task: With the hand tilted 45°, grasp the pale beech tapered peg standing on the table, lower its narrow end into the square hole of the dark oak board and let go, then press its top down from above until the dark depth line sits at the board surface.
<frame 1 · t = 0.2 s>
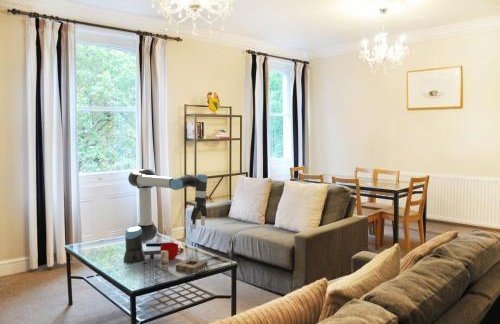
hand: (198, 227, 293), 27 cm above the table, tool pointing down, fingers open, 13 cm apart
ceramic cup: (172, 259, 308), on the table
peg: (164, 269, 287), on the table
board: (191, 268, 288), on the table
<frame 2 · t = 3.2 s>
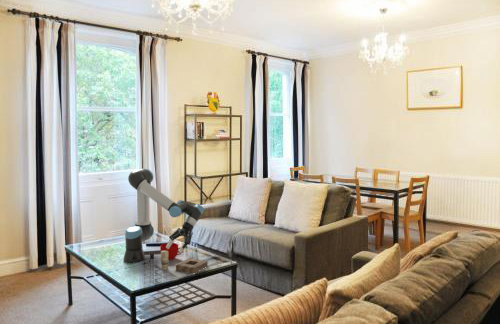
hand: (173, 250, 290), 12 cm above the table, tool tilted 45°, fingers open, 13 cm apart
nothing on the table moved.
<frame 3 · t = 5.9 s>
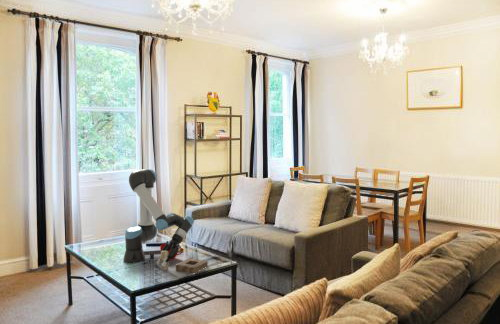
hand: (160, 265, 284), 4 cm above the table, tool tilted 45°, fingers closed on peg, 5 cm apart
peg: (164, 269, 287), on the table, touching gripper
everything else where it was.
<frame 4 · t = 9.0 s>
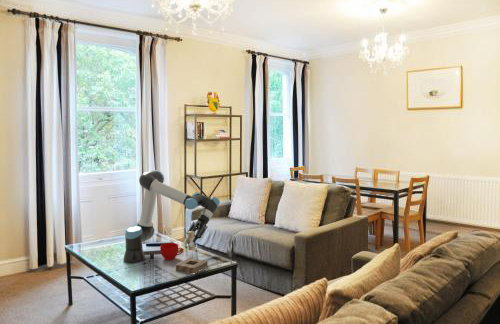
hand: (187, 245, 284), 17 cm above the table, tool tilted 45°, fingers closed on peg, 5 cm apart
peg: (191, 249, 287), point 13 cm above the table, touching gripper
everything else where it was.
when the fingers open (6 cm above the table, at t = 11.9 s): peg drops 2 cm, resting in board.
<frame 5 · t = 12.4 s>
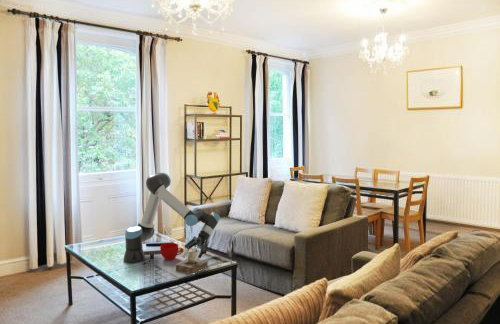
hand: (189, 259, 286), 7 cm above the table, tool tilted 45°, fingers open, 13 cm apart
peg: (192, 268, 288), resting in board
everything else where it was.
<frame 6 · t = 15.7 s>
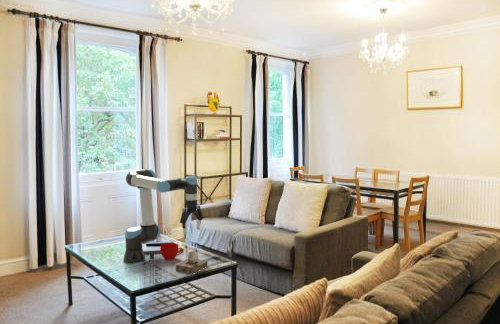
hand: (191, 231, 286), 26 cm above the table, tool pointing down, fingers open, 11 cm apart
nothing on the table moved.
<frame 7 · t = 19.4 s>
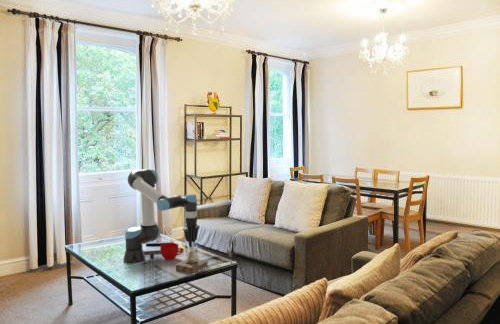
hand: (191, 251, 287), 12 cm above the table, tool pointing down, fingers closed
peg: (192, 268, 288), resting in board, touching gripper
everything else where it was.
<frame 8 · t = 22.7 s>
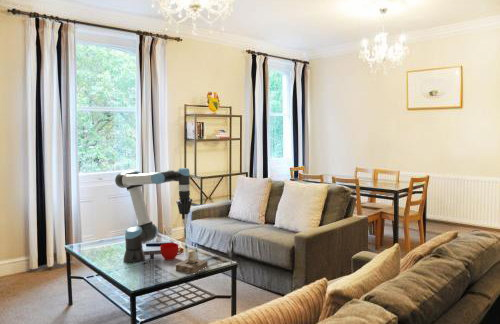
hand: (184, 223, 297), 28 cm above the table, tool pointing down, fingers closed
peg: (192, 268, 288), resting in board
everything else where it was.
at the end: peg 0.0 cm off-centre on the board, point 0.0 cm above the board's base; peg tilted 0°; the gripper is holding nothing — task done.
